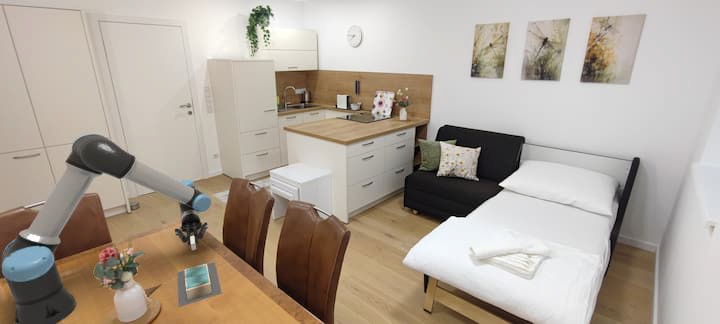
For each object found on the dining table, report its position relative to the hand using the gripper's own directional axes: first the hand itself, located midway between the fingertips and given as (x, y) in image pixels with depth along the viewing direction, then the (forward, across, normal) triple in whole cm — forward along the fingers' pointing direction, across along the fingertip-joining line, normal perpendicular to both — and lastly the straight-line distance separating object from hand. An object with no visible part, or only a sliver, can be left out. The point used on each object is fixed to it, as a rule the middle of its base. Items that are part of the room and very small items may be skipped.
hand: (193, 246), depth 127 cm
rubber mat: (+6, 0, -13) cm, 14 cm away
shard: (+3, +19, -14) cm, 24 cm away
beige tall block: (+1, 0, -10) cm, 10 cm away
